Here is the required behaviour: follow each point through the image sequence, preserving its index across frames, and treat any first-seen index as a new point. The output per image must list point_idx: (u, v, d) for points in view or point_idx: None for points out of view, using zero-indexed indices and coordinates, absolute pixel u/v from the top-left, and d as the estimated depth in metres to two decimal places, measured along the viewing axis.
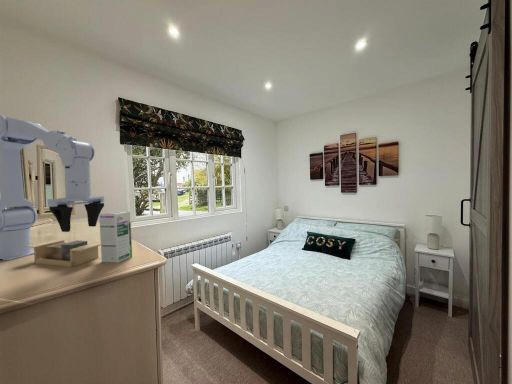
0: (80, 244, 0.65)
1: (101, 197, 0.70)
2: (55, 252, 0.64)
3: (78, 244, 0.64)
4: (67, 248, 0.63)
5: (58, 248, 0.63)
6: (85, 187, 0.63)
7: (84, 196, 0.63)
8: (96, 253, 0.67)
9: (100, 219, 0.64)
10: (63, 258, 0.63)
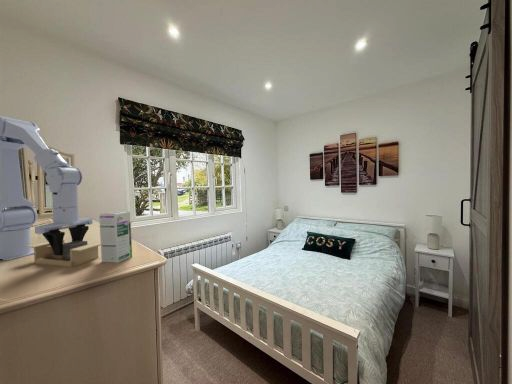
0: (80, 244, 0.65)
1: (89, 219, 0.71)
2: None
3: (78, 244, 0.64)
4: (67, 248, 0.63)
5: None
6: (73, 212, 0.64)
7: (71, 221, 0.64)
8: (96, 253, 0.67)
9: (100, 219, 0.64)
10: (63, 258, 0.63)
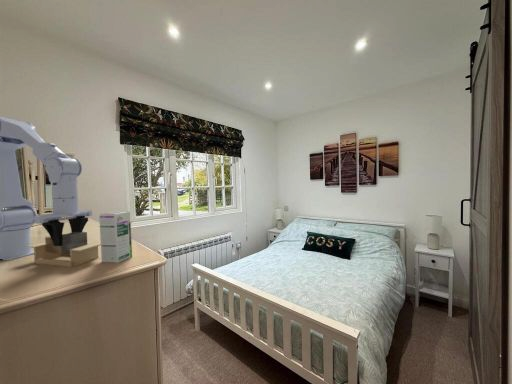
0: (80, 235, 0.64)
1: (89, 211, 0.71)
2: None
3: (78, 235, 0.64)
4: (66, 239, 0.62)
5: None
6: (72, 202, 0.64)
7: (71, 212, 0.64)
8: (96, 253, 0.67)
9: (100, 219, 0.64)
10: (63, 249, 0.63)
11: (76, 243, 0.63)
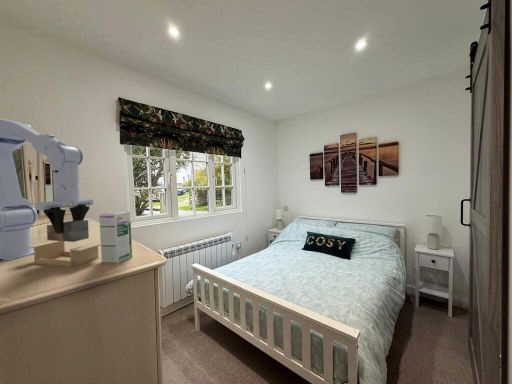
0: (81, 223, 0.65)
1: (90, 200, 0.71)
2: None
3: (79, 222, 0.64)
4: (67, 226, 0.63)
5: None
6: (73, 190, 0.65)
7: (72, 199, 0.64)
8: (96, 253, 0.67)
9: (100, 219, 0.64)
10: (64, 236, 0.63)
11: (77, 230, 0.64)
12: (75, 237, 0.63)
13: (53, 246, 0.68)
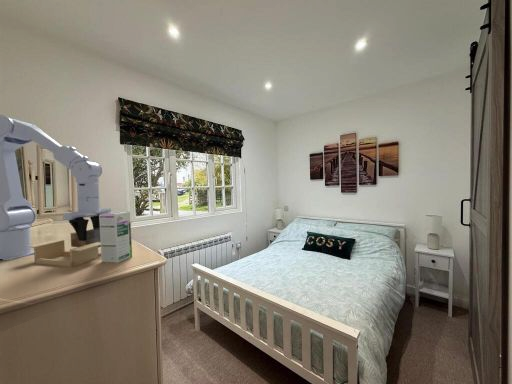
0: None
1: (108, 209, 0.78)
2: None
3: None
4: (90, 234, 0.69)
5: None
6: (95, 201, 0.71)
7: (94, 210, 0.71)
8: (96, 253, 0.67)
9: (100, 219, 0.64)
10: (87, 243, 0.70)
11: (99, 238, 0.70)
12: None
13: (53, 246, 0.68)
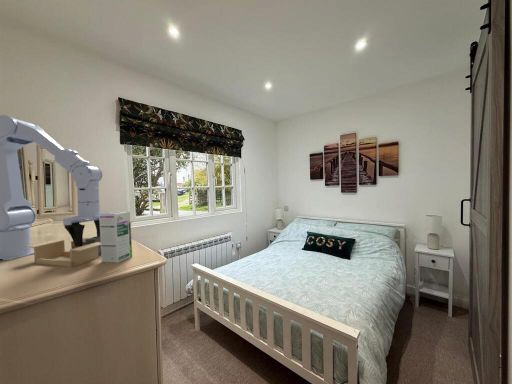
0: None
1: None
2: (80, 246, 0.70)
3: None
4: (91, 243, 0.69)
5: (83, 242, 0.70)
6: (95, 206, 0.71)
7: (94, 214, 0.71)
8: (96, 253, 0.67)
9: (100, 219, 0.64)
10: None
11: (99, 246, 0.70)
12: (98, 253, 0.70)
13: (53, 246, 0.68)
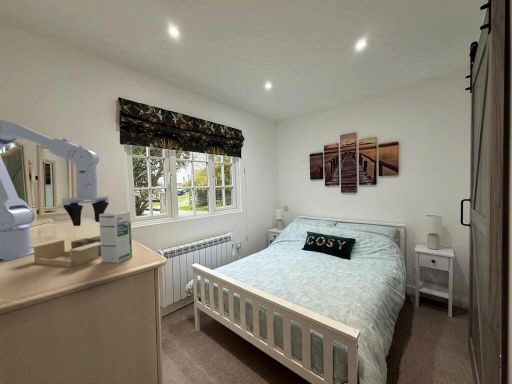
0: None
1: (106, 197, 0.81)
2: (80, 246, 0.70)
3: (100, 239, 0.71)
4: (91, 243, 0.69)
5: (83, 242, 0.70)
6: (93, 188, 0.75)
7: (92, 196, 0.74)
8: (96, 253, 0.67)
9: (100, 219, 0.64)
10: None
11: (99, 246, 0.70)
12: (98, 253, 0.70)
13: (53, 246, 0.68)
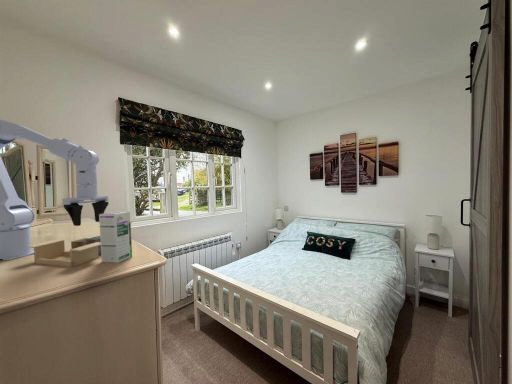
0: None
1: (106, 197, 0.82)
2: (80, 246, 0.70)
3: None
4: (91, 243, 0.69)
5: (83, 242, 0.70)
6: (93, 188, 0.75)
7: (92, 196, 0.74)
8: (96, 253, 0.67)
9: (100, 219, 0.64)
10: None
11: (99, 246, 0.70)
12: (98, 253, 0.70)
13: (53, 246, 0.68)
